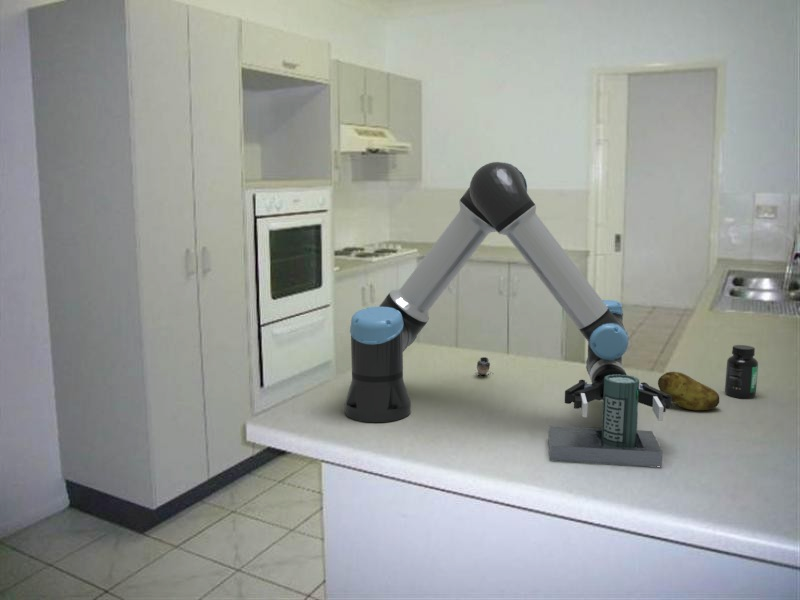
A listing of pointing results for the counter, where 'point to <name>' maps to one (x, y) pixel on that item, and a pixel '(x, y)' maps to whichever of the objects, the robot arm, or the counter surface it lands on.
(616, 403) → the can
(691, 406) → the potato
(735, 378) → the supplement bottle
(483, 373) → the vase
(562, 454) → the grey slab with hole
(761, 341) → the counter surface
